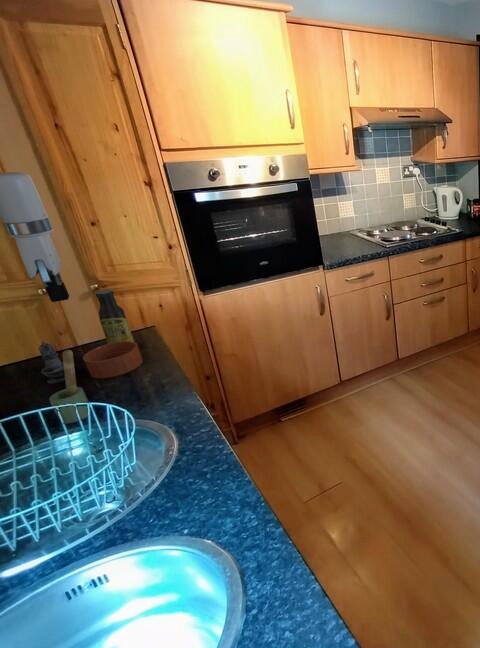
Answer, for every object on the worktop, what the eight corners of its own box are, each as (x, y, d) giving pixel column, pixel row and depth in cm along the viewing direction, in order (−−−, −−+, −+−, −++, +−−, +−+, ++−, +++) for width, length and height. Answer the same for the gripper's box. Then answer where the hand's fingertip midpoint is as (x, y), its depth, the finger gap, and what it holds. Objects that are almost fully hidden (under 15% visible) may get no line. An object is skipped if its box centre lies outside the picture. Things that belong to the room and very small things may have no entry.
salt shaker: (73, 370, 132) (56, 334, 128) (74, 378, 129) (57, 341, 124) (45, 378, 129) (27, 341, 124) (46, 386, 125) (27, 348, 120)
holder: (59, 428, 109) (47, 404, 106) (62, 415, 113) (51, 392, 111) (91, 419, 112) (81, 395, 109) (94, 406, 117) (83, 384, 114)
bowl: (88, 384, 126) (80, 366, 123) (92, 366, 135) (85, 348, 132) (143, 371, 132) (136, 353, 130) (143, 354, 141) (137, 337, 139)
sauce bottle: (108, 355, 141) (84, 296, 132) (114, 346, 146) (92, 289, 138) (133, 351, 143) (111, 293, 135) (139, 342, 148) (118, 286, 140)
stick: (69, 418, 111) (61, 352, 106) (70, 414, 113) (62, 349, 107) (79, 417, 112) (71, 351, 107) (80, 413, 114) (72, 348, 109)
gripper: (13, 223, 109) (44, 293, 116) (-1, 237, 98) (35, 313, 105) (55, 219, 113) (83, 287, 120) (46, 231, 102) (78, 305, 109)
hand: (60, 299), depth 113 cm, fingers closed
